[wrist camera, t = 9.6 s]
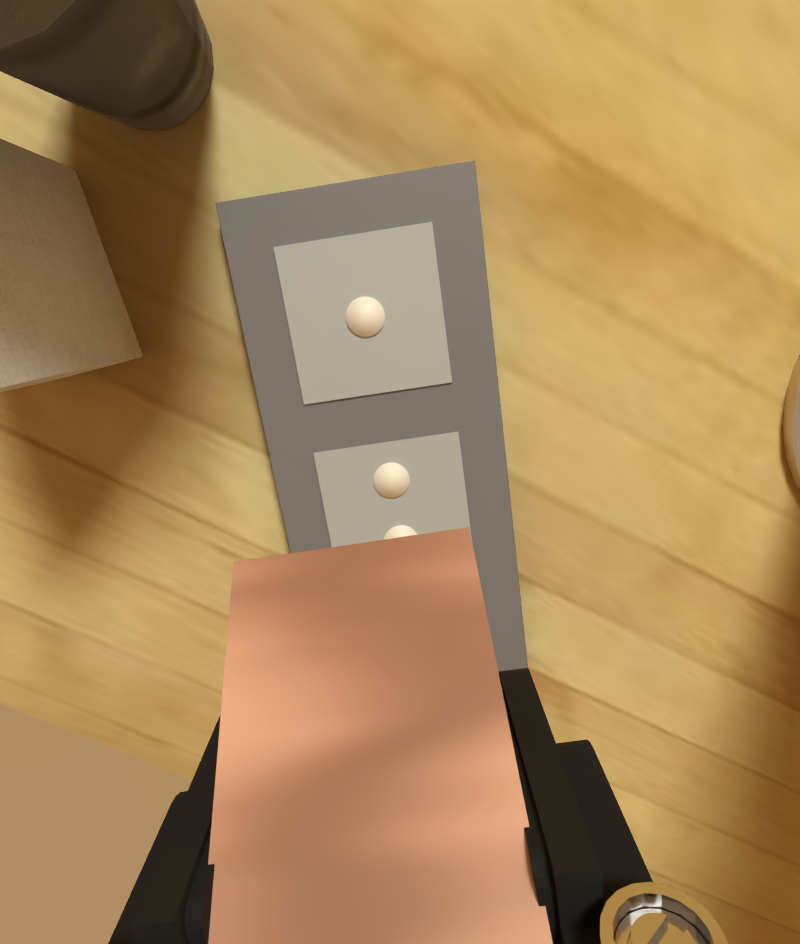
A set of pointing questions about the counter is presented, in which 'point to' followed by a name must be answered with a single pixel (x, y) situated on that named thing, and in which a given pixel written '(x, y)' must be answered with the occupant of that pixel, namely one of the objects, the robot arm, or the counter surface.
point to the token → (367, 755)
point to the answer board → (380, 368)
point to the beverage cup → (112, 55)
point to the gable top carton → (54, 278)
